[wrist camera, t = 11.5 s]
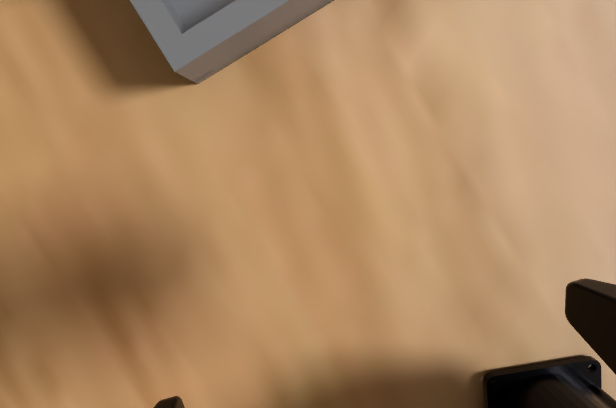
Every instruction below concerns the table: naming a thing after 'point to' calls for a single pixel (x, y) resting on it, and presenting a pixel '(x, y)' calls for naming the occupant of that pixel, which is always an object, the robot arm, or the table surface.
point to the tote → (217, 29)
